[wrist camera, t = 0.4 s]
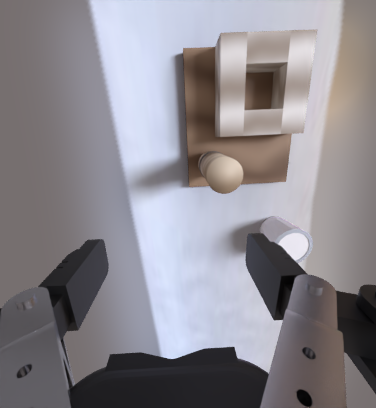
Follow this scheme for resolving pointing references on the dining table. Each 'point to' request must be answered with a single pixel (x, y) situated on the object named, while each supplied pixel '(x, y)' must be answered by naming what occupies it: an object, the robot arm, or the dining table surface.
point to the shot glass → (288, 237)
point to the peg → (220, 171)
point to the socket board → (248, 100)
